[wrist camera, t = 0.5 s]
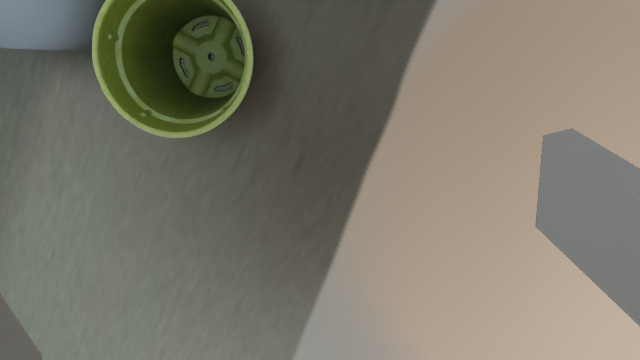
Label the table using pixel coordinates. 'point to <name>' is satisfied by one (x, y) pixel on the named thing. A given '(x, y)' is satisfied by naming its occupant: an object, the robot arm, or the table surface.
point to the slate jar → (48, 24)
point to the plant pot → (172, 63)
